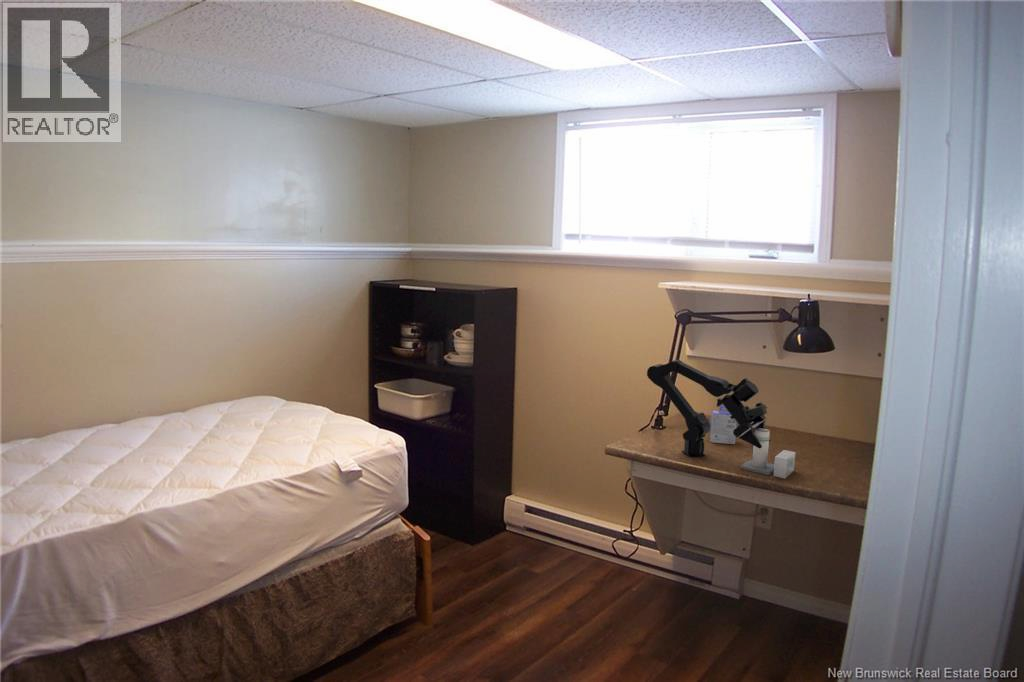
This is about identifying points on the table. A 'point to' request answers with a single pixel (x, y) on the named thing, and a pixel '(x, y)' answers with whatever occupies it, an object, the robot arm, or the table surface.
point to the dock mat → (749, 467)
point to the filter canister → (761, 449)
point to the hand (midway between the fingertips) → (765, 444)
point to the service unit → (784, 464)
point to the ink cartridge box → (722, 427)
